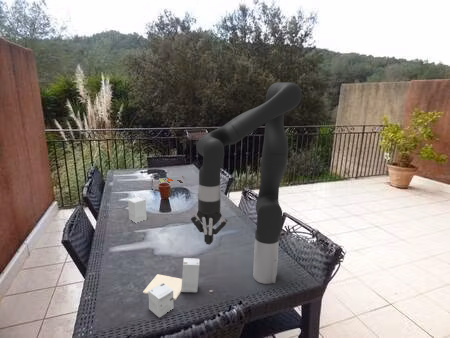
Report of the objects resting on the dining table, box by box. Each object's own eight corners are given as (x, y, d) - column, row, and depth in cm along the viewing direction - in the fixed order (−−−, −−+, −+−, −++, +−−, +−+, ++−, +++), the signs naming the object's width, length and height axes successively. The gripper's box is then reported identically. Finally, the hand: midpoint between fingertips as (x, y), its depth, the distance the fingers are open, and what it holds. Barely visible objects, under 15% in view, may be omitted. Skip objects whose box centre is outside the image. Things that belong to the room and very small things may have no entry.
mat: (187, 281, 112) (187, 280, 111) (175, 300, 101) (175, 298, 101) (157, 275, 115) (157, 274, 115) (142, 293, 104) (142, 291, 104)
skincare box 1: (159, 318, 93) (158, 299, 91) (148, 309, 97) (147, 290, 95) (174, 308, 97) (173, 290, 95) (163, 300, 101) (162, 282, 99)
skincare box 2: (197, 285, 109) (200, 257, 106) (197, 293, 105) (200, 265, 101) (181, 284, 108) (183, 256, 105) (180, 292, 104) (183, 264, 101)
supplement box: (147, 220, 164) (146, 199, 161) (135, 224, 159) (134, 202, 156) (140, 216, 169) (139, 196, 166) (128, 220, 164) (127, 199, 161)
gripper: (231, 195, 97) (229, 241, 102) (194, 190, 100) (194, 235, 105) (225, 202, 90) (224, 252, 95) (186, 198, 93) (186, 245, 98)
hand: (208, 243), depth 100 cm, fingers closed
